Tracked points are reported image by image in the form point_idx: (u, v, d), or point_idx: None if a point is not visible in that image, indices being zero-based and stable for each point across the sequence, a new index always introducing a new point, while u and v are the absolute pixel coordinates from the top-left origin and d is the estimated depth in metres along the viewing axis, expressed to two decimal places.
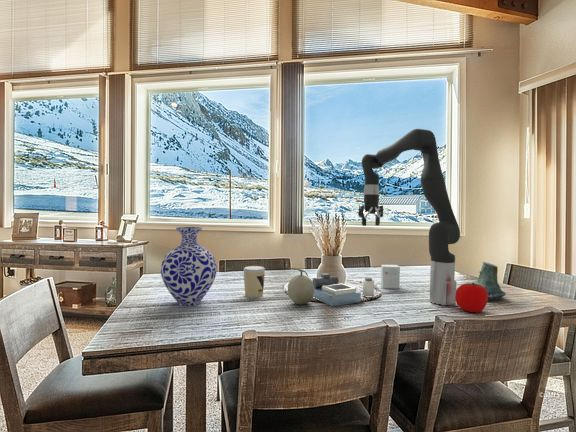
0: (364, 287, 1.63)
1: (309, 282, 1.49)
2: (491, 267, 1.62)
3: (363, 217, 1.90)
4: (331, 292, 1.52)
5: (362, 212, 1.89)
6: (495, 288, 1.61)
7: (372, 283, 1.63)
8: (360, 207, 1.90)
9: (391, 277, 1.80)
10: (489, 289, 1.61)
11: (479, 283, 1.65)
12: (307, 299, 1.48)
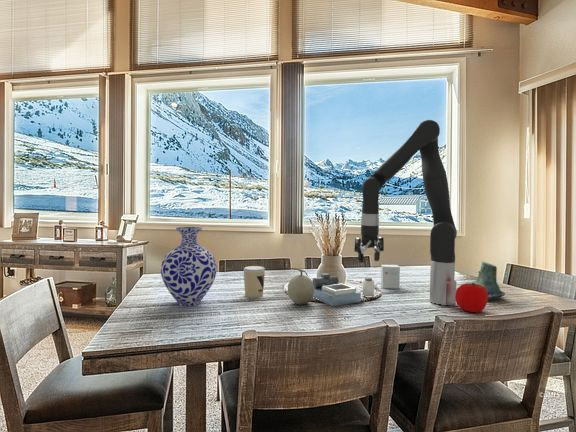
0: (364, 287, 1.63)
1: (309, 282, 1.49)
2: (490, 267, 1.62)
3: (360, 252, 1.61)
4: (331, 292, 1.52)
5: (359, 247, 1.60)
6: (494, 288, 1.61)
7: (372, 283, 1.63)
8: (356, 240, 1.61)
9: (391, 277, 1.80)
10: (488, 289, 1.61)
11: (478, 283, 1.65)
12: (307, 299, 1.48)
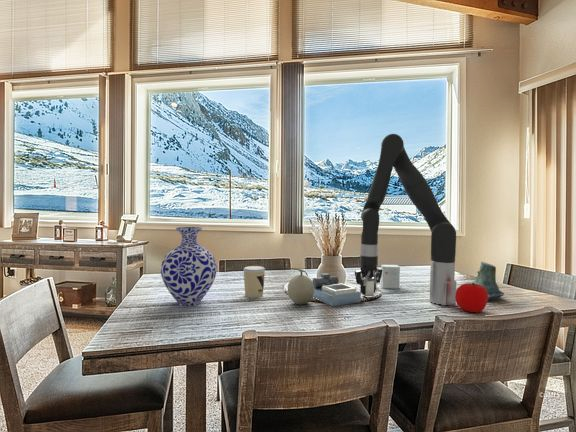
0: None
1: (309, 282, 1.49)
2: (489, 267, 1.62)
3: (362, 284, 1.62)
4: (331, 292, 1.52)
5: (360, 279, 1.61)
6: (493, 288, 1.61)
7: (372, 283, 1.63)
8: (356, 274, 1.61)
9: (391, 277, 1.80)
10: (486, 290, 1.61)
11: (477, 283, 1.65)
12: (307, 299, 1.48)
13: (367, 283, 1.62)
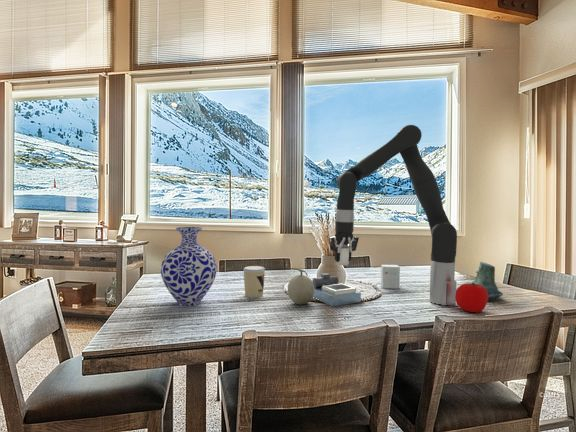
0: None
1: (309, 282, 1.49)
2: (488, 267, 1.62)
3: (336, 251, 1.56)
4: (331, 292, 1.52)
5: (334, 246, 1.55)
6: (492, 289, 1.61)
7: (347, 250, 1.56)
8: (330, 240, 1.55)
9: (391, 277, 1.80)
10: None
11: (476, 283, 1.64)
12: (307, 299, 1.48)
13: (341, 250, 1.56)
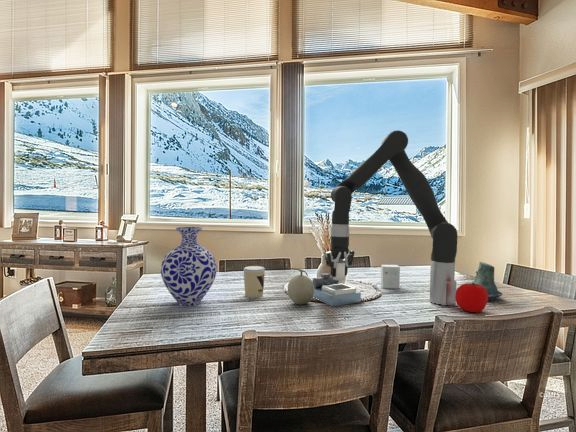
0: None
1: (309, 282, 1.49)
2: (487, 267, 1.61)
3: (332, 266, 1.54)
4: (331, 292, 1.52)
5: (330, 261, 1.53)
6: (491, 289, 1.60)
7: (343, 265, 1.54)
8: (326, 255, 1.53)
9: (391, 277, 1.80)
10: None
11: (475, 283, 1.64)
12: (307, 299, 1.48)
13: (337, 265, 1.54)
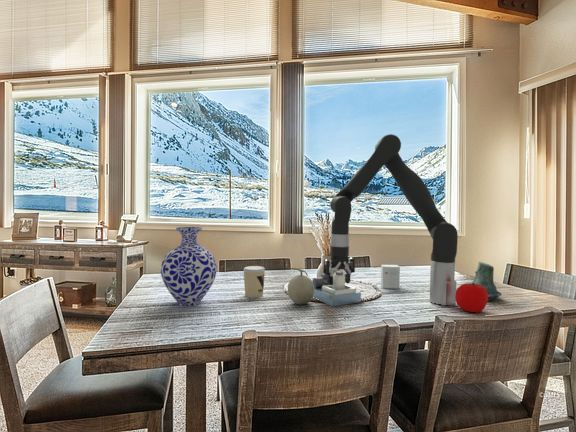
0: (334, 281, 1.55)
1: (309, 282, 1.49)
2: (486, 267, 1.61)
3: (329, 275, 1.53)
4: (331, 292, 1.52)
5: (327, 269, 1.52)
6: (490, 289, 1.60)
7: (343, 277, 1.54)
8: (325, 262, 1.53)
9: (391, 277, 1.80)
10: None
11: (474, 283, 1.64)
12: (307, 299, 1.48)
13: (337, 277, 1.54)
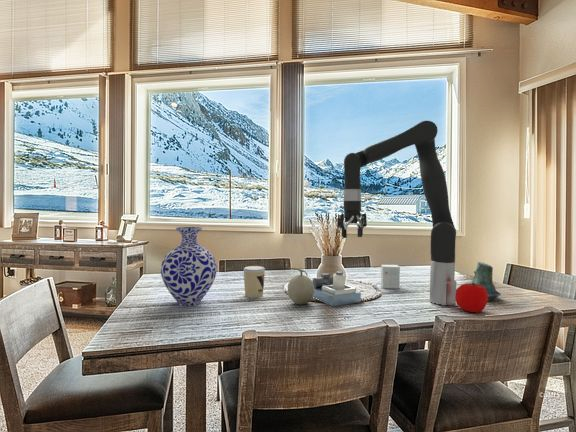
0: (334, 281, 1.55)
1: (309, 282, 1.49)
2: (485, 267, 1.61)
3: (343, 228, 1.61)
4: (331, 292, 1.52)
5: (342, 222, 1.60)
6: (489, 289, 1.60)
7: (343, 277, 1.54)
8: (339, 216, 1.60)
9: (391, 277, 1.80)
10: None
11: None
12: (307, 299, 1.48)
13: (337, 277, 1.54)
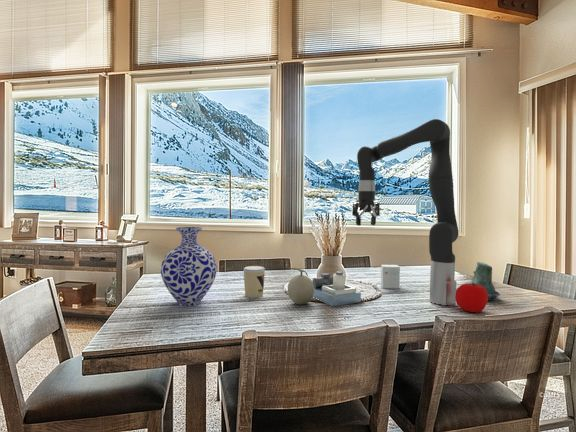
0: (334, 281, 1.55)
1: (309, 282, 1.49)
2: (484, 267, 1.61)
3: (357, 216, 1.73)
4: (331, 292, 1.52)
5: (356, 210, 1.72)
6: (488, 289, 1.60)
7: (343, 277, 1.54)
8: (354, 205, 1.73)
9: (391, 277, 1.80)
10: None
11: None
12: (307, 299, 1.48)
13: (337, 277, 1.54)
